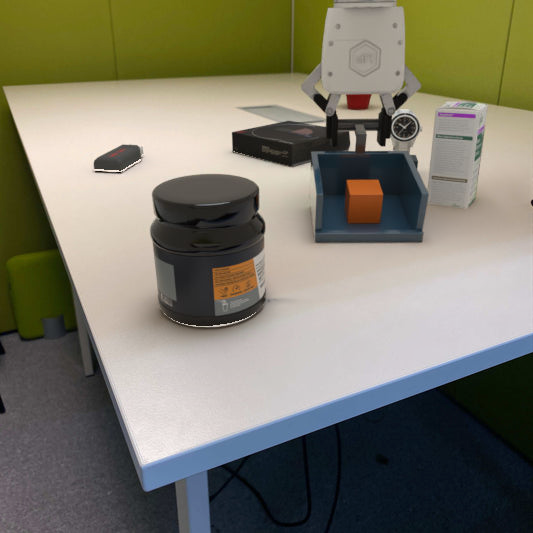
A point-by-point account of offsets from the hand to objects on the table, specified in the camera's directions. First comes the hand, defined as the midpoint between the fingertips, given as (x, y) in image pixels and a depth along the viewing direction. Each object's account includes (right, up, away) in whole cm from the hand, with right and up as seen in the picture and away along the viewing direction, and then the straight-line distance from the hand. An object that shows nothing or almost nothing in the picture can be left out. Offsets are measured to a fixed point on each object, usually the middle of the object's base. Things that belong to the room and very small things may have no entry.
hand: (357, 143), depth 73 cm
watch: (+10, -1, +20) cm, 23 cm away
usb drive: (-39, +3, +30) cm, 49 cm away
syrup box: (+14, -8, +5) cm, 17 cm away
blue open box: (0, -10, -2) cm, 10 cm away
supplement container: (-17, -21, -20) cm, 33 cm away
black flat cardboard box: (-7, +7, +37) cm, 38 cm away
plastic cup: (+14, +28, +83) cm, 88 cm away
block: (0, -10, -4) cm, 11 cm away
